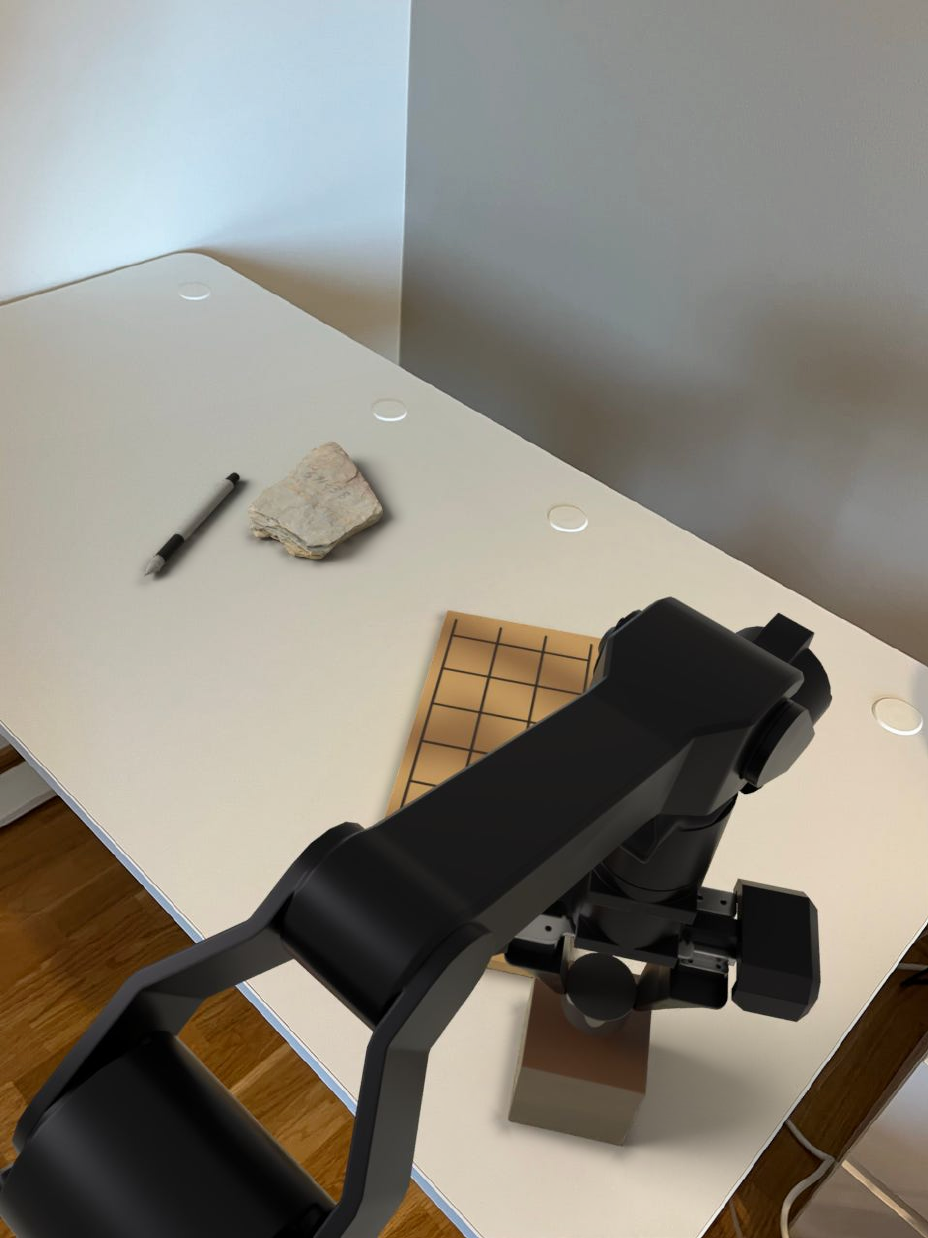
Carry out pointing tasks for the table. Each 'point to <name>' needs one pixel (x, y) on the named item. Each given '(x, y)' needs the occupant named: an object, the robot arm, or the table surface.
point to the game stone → (599, 994)
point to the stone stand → (578, 1072)
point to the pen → (192, 524)
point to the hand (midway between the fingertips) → (599, 994)
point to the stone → (316, 504)
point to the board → (487, 699)
